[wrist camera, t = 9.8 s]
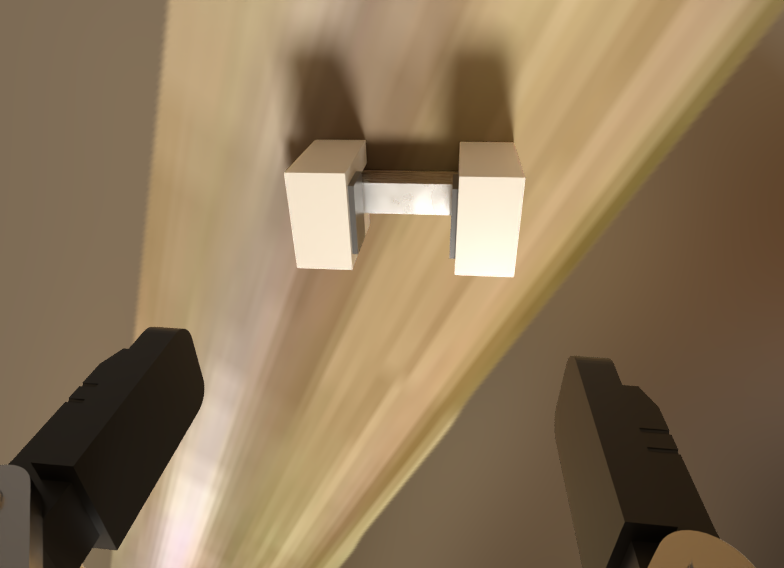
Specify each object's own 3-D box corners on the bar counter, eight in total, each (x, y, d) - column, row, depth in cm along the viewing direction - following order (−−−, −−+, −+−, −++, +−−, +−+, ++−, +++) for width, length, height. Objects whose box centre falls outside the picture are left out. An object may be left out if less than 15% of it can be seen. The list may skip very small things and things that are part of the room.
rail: (296, 168, 40) (285, 181, 38) (510, 172, 38) (514, 185, 36) (299, 197, 42) (289, 211, 39) (507, 201, 40) (511, 216, 37)
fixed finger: (454, 141, 38) (452, 176, 31) (513, 142, 37) (525, 177, 30) (450, 226, 41) (448, 274, 35) (505, 228, 41) (513, 277, 34)
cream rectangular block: (315, 139, 39) (283, 172, 32) (370, 140, 39) (351, 173, 32) (323, 222, 43) (297, 267, 36) (374, 223, 42) (357, 270, 35)
